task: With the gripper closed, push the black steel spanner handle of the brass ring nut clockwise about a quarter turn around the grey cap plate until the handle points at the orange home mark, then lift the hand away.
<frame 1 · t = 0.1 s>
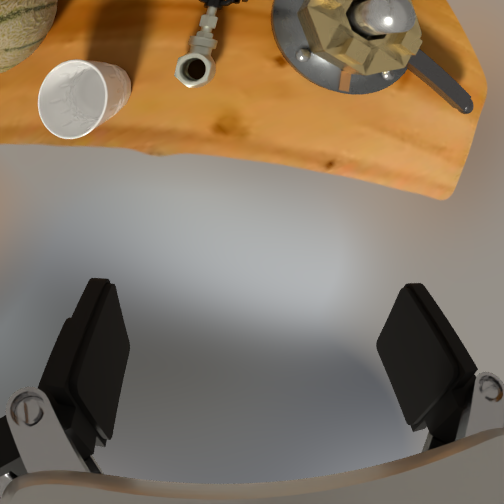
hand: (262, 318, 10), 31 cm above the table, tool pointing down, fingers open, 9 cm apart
cap plate: (345, 25, 29), on the table
white cup: (106, 89, 32), on the table
valve: (206, 39, 30), on the table
cantaloupe: (31, 19, 24), on the table
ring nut: (409, 52, 26), point 6 cm above the table, hinge at 0.0°, touching cap plate
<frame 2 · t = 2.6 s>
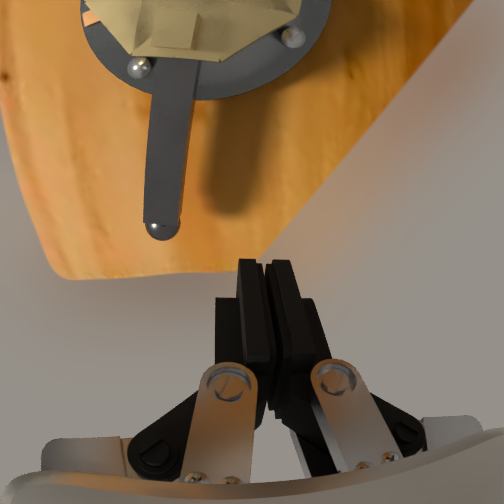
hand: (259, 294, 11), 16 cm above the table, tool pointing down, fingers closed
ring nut: (177, 64, 16), point 6 cm above the table, hinge at 0.0°, touching cap plate
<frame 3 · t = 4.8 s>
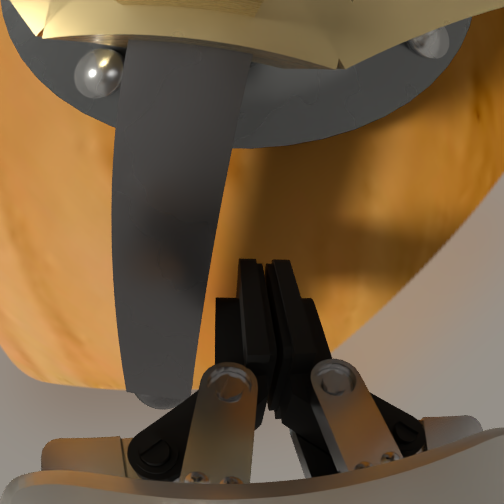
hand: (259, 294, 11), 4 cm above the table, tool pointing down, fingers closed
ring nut: (186, 63, 5), point 6 cm above the table, hinge at 0.9°, touching gripper
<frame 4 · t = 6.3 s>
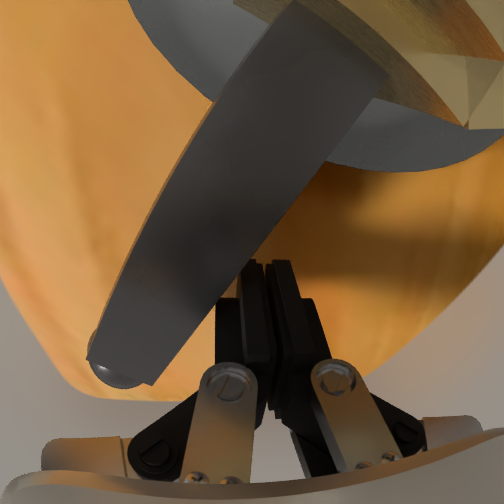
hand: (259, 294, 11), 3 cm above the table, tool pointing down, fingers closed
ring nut: (330, 51, 5), point 6 cm above the table, hinge at 23.0°, touching gripper
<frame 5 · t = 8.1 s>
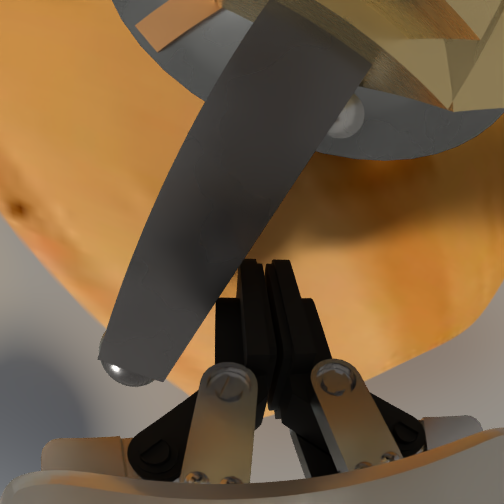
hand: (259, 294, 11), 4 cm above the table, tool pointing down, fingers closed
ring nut: (311, 45, 5), point 6 cm above the table, hinge at 44.0°, touching cap plate, gripper
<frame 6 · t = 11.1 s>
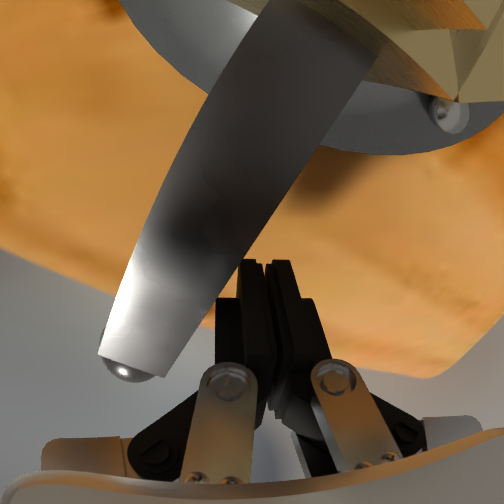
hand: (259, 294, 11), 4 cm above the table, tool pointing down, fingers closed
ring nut: (317, 36, 5), point 6 cm above the table, hinge at 77.8°, touching gripper
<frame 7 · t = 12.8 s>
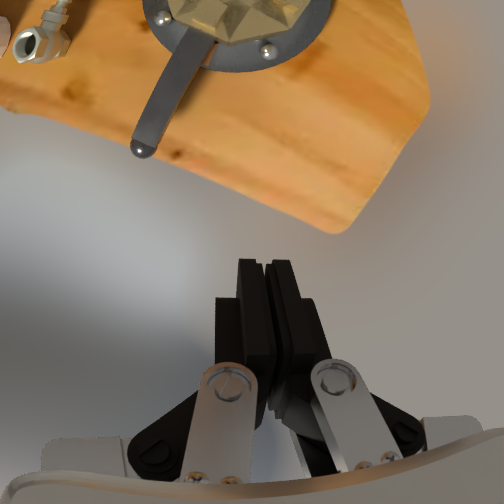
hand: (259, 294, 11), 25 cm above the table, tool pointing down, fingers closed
valve: (72, 14, 22), on the table
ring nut: (199, 35, 21), point 6 cm above the table, hinge at 77.9°
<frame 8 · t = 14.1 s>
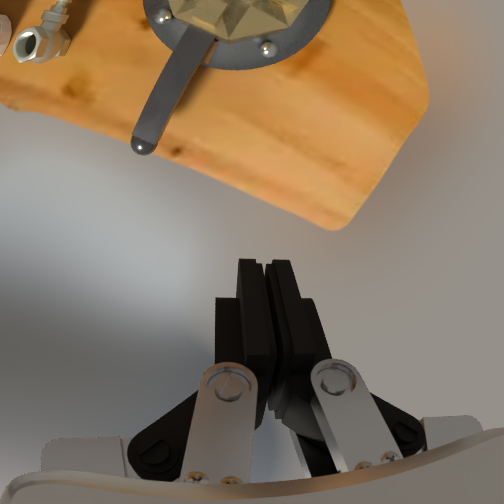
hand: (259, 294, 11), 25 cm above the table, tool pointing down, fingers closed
valve: (72, 13, 22), on the table
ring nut: (199, 33, 21), point 6 cm above the table, hinge at 77.9°
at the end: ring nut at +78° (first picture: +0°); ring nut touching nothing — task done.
